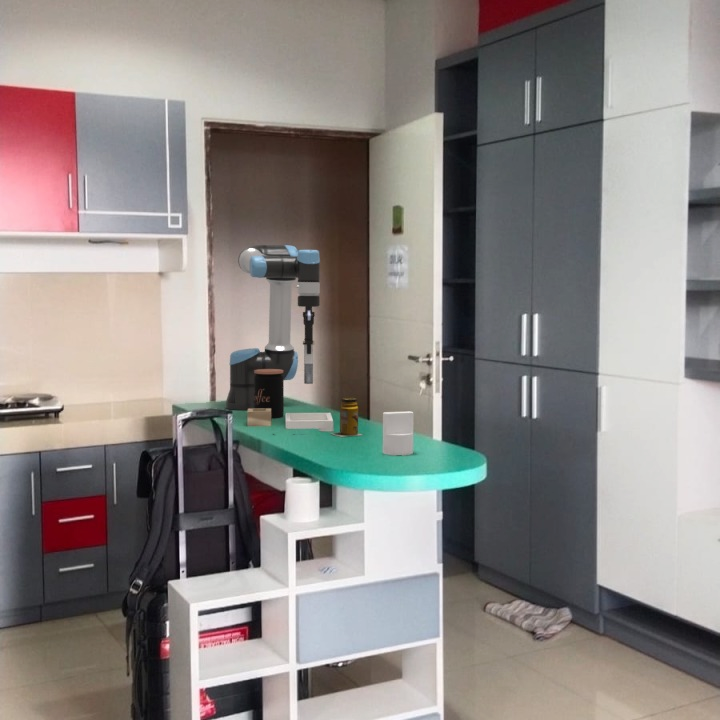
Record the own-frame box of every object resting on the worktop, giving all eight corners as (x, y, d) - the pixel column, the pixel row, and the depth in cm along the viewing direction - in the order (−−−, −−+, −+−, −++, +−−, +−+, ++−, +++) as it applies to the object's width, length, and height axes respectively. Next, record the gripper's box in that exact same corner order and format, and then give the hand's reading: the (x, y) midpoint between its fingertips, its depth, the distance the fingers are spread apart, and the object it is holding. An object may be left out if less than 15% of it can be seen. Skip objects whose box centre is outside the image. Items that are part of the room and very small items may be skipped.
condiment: (363, 435, 313) (363, 399, 312) (341, 437, 309) (341, 400, 308) (351, 432, 319) (351, 396, 318) (329, 434, 315) (329, 398, 314)
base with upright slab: (388, 456, 276) (388, 415, 275) (378, 450, 284) (379, 411, 283) (417, 454, 278) (417, 414, 277) (407, 449, 287) (407, 410, 286)
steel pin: (302, 382, 330) (302, 340, 329) (314, 382, 331) (314, 340, 330) (302, 384, 327) (302, 341, 325) (314, 384, 327) (314, 341, 326)
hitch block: (248, 425, 332) (248, 408, 332) (271, 425, 333) (271, 408, 332) (247, 429, 324) (247, 411, 324) (270, 428, 325) (270, 411, 324)
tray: (285, 422, 339) (285, 413, 339) (330, 422, 341) (330, 412, 340) (285, 431, 319) (285, 421, 319) (333, 431, 321) (333, 420, 320)
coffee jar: (248, 418, 349) (248, 369, 347) (273, 416, 355) (273, 368, 354) (263, 422, 340) (263, 372, 339) (289, 419, 347) (289, 370, 345)
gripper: (297, 294, 334) (297, 360, 336) (298, 295, 317) (298, 365, 319) (318, 294, 335) (318, 360, 337) (320, 295, 318) (320, 365, 320)
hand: (308, 362), depth 328 cm, fingers closed on steel pin, 4 cm apart
